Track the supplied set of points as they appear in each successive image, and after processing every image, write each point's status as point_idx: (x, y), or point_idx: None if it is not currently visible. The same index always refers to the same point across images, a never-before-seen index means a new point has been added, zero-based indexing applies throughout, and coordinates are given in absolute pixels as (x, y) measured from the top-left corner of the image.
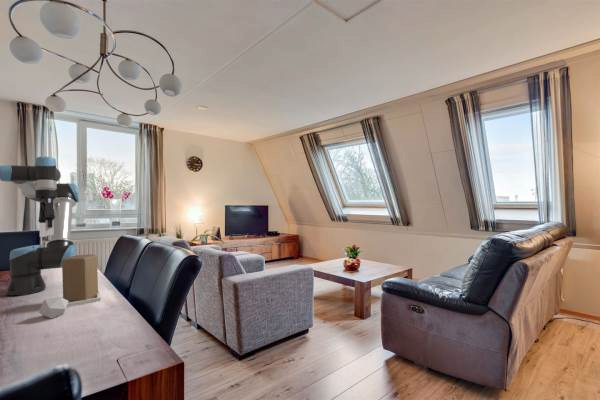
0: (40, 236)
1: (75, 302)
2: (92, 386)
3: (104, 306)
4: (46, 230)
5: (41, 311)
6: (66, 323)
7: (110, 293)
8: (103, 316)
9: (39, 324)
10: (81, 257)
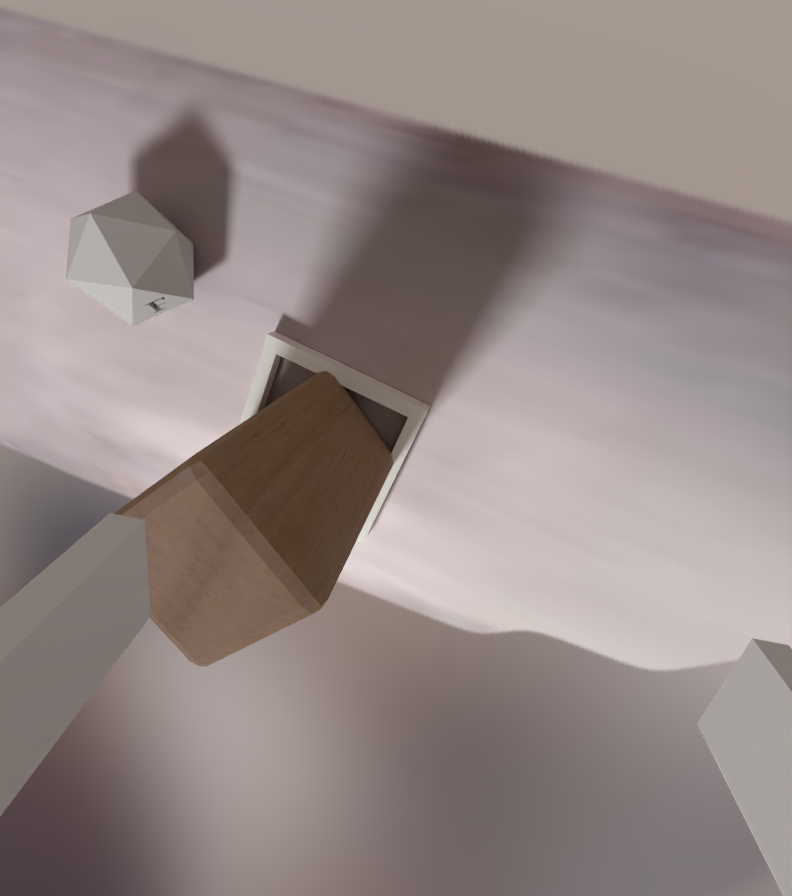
0: (749, 650)
1: (250, 388)
2: None
3: (132, 431)
4: (34, 586)
5: (120, 197)
6: (24, 244)
7: None
8: (4, 359)
9: (97, 173)
10: None
